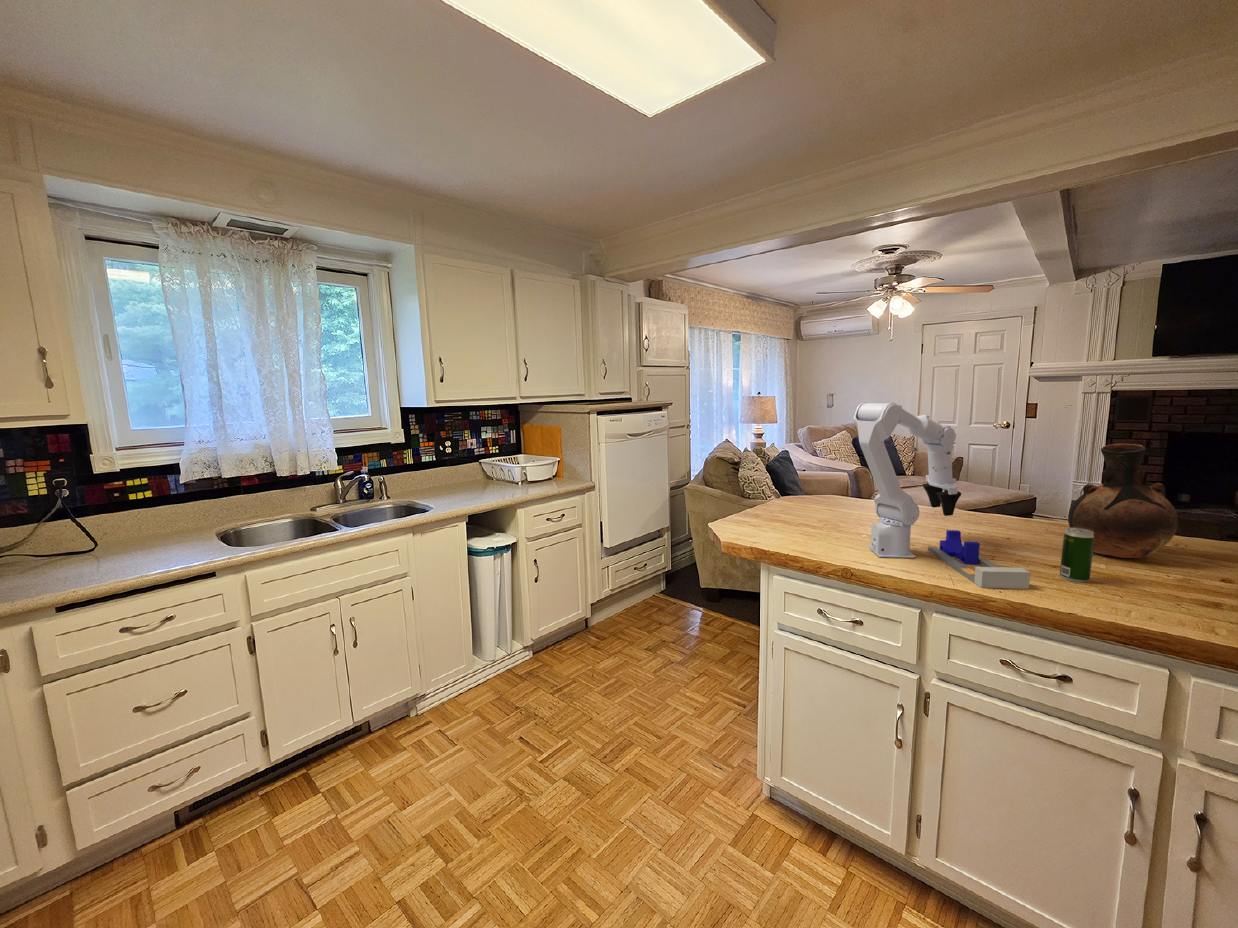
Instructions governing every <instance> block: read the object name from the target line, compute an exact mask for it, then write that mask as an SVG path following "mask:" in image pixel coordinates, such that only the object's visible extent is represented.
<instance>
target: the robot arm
mask: <svg viewBox="0 0 1238 928" xmlns="http://www.w3.org/2000/svg"><path fill="white" fill-rule="evenodd" d="M852 420H853V422H854V425H855V427H856V429H857V434H858V442H859V446H860V448H861V451H862V453H863V456H864V459H865V461H866V463H867V466H868V469H869V470H870V474H871V476H872V478H873V481H874V484H875V487H876V489H877V491H878V493H877V495H876V496H875V497H874V499H873V501H874V504H875V505H874V506H875V508H874V509H875V513H876V516H877V517H878V518H879V522H874V523H872V525H871V530H870V546H869V549H870V550H871V551H872V552H873V553H874V554H875V555H876V556H877V557H878V558H904V559H905V558H908V559H910V558H912V559H913V558H914V559H915V558H916V555H915V554H913V553H912V552H911V550H910V549H911V548H910V547H911V531H912V526H913V525H914V524H915V523H917V521H918V519H919V517H920V507H919V505H918V504H917V503H916V502H915V501H914V499H913V497H912V496H911V495H909V493H907V492H906V491H905V490H903V489H902V488H901V487H902V486H901V484H900V482H899V480H898V476H897V473H896V472H895V469H894V466H893V464H892V463H893V462H892V461H891V458H890V456H889V453H888V450H887V448H886V445H885V441H886V440H888V439H889V438H890V437H891V435H892V433H893V432H894V431H895V429H896V427H897V426H898V425H901V426H903V427H905V428H907V429H908V432H909V433H910V434H911V436H912V435H913V436H915V437H917V438H918V439H921V441H922V443H923V444H924V445H926V446H927V463H928V464H927V465H928V474H925V482H926V483H922V485H921V486H922V487H923V489H924V491H925V492H926V494H927V497H928V500H929V504H930V506H931V508H940V507H941V509H942V513H943V515H944V516H945V517H947V516H949V517H950V516H953V515H954V513H955V508H956V506H957V502H958V501H959V499H960V498H961V496H962V492H960V491H958V487H957V486H956V485H955V483H958V480H957V479H956V478H954V477H953V466H952V465H953V464H952V463H953V461H952V459H953V458H952V451H953V450H954V443H955V441H956V439H957V433H956V432H955V429H954V428H952V426H950V425H942V424H941V423H940V421H938V420H932V419H931V418H930V415H927V414H921V415H917V416H916V415H914V414H912V413H911V412H909V411H907V410H906V409H904V408H903V406H902V405H900V404H897V403H895V402H890V403H889V402H888V403H882V402H879V403H878V402H867V401H866V402H861V403H859V404H858V406H857V407H856V409H855V413H854V416H853V418H852Z"/></svg>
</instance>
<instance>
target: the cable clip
mask: <svg viewBox="0 0 1238 928" xmlns="http://www.w3.org/2000/svg"><path fill="white" fill-rule="evenodd" d="M945 534H946V535H945V539H944V540H943V539H942V540H941V539H940V540H939V548H938V549H940V550H941V551H943V552H945V553H946V554H948V555H949V556H951V557H952V558H956V559H957V558H958V559H959V560H958V559H957V560H958V561H960V563H962V564H963V565H965V566H966V565H967V566H969V565H971V566H978V565H979V564H978V560H979V555H980V545H981V544H980V542H979V541H967V540H964V542H963V543H962V535H961V534H962V533H961V531H960V530H956V529H950V530H949V529H946V533H945Z"/></svg>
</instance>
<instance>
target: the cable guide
mask: <svg viewBox="0 0 1238 928" xmlns="http://www.w3.org/2000/svg"><path fill="white" fill-rule="evenodd" d="M927 551H928V552H930V554H932V553H933V554H934V555H933V554H932V555H933V556H935V557H936V558H938V559H939V558H940V559H939V560H941V561H942V562H943V563H945V564H946V563H947V564H946V565H948V566H949V567H950V568H952V569H954V570H955V571H957V572H958V573H959V572H960V574H961V575H962V576H963V577H965V578H966V577H967V578H966V579H968V580H970V581H971V582H973V583H974V584H975V585H976V586H978V587H979V588H981V589H1014V590H1015V589H1016V590H1020V589H1022V590H1029V589H1030V580H1031V571H1029V570H1028V569H1025V568H1023V567H1013V566H1012V567H1010V566H1009V567H1007V566H1006V567H1005V566H1003V567H1002V566H999V565H998V564H996V563H994V562H993V561H991V560H989V559H988V558H986V557H984V556H982V555H981V554H979V560H978V565H979V566H975V567H974V568H975V570H973V569H972V568H969V567H968V566H966V565H965V564H964V563H962V562H961V561H960V562H959V560H958V559H955V557H951V556H949V555H948V554H946V553H945V552H943V551H941V550H940V549H939V548H938V547H937V546H928V547H927Z"/></svg>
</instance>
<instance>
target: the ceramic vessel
mask: <svg viewBox="0 0 1238 928" xmlns="http://www.w3.org/2000/svg"><path fill="white" fill-rule="evenodd" d="M1146 451H1147V448H1146V446H1143V445H1141V444H1136V443H1114V444H1113V443H1112V444H1107V445H1104V446H1103V447H1101V448H1100V452H1101V454H1102V456H1103V458H1104V461H1105V465H1106V468H1105V469H1103V471H1102V472H1101V479H1102V480H1104V481H1105V482H1104V483H1102V484H1099V485H1098V486H1097V485H1096V484H1093V483H1088V484H1085V485H1083V489H1082V491H1083V494H1082V495H1080V496H1079V497H1078V498H1077V499H1075V501H1074V502H1073V503H1072V505H1071V507H1070V509H1069V511H1068V516H1067V523H1068V525H1069V528H1082V529H1088V530H1091V531H1093V532H1094V536H1095V539H1094V548H1093V553H1096V554H1100V555H1106V556H1112V557H1117V558H1123V559H1126V558H1127V559H1140V558H1147V557H1148V556H1150V555H1152V554H1154V553H1156V552H1158V551H1159V550H1161V549H1163V548H1164V546H1166V545H1167V544H1168V543H1170V541H1171V540H1172V539H1173V538H1174V537H1175V534H1176V532H1177V529H1178V525H1179V524H1178V512H1177V510H1176V508H1175V507H1174V506H1173V504H1172V502H1171V501H1169V499H1168V498H1167V497H1166V487H1165V485H1164V484H1162V483H1160V482H1157V483H1154V484H1152V485H1145V484H1143V483H1142V482H1141V481H1142V479H1144V478H1145V471H1144V470H1143V468H1141V465H1142V464H1141V463H1142V461H1143V458H1144V456H1145V454H1146Z"/></svg>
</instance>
